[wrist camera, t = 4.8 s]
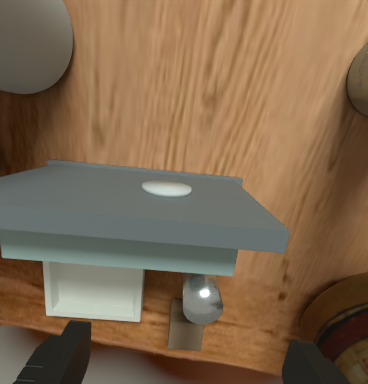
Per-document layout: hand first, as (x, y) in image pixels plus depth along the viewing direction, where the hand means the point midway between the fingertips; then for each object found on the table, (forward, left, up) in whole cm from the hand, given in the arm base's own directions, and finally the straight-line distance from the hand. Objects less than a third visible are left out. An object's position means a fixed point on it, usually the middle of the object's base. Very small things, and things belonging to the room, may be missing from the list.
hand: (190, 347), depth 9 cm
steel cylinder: (-3, +10, -22) cm, 24 cm away
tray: (+11, +12, -22) cm, 27 cm away
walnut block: (-2, +18, -22) cm, 28 cm away
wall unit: (+5, 0, -22) cm, 22 cm away
